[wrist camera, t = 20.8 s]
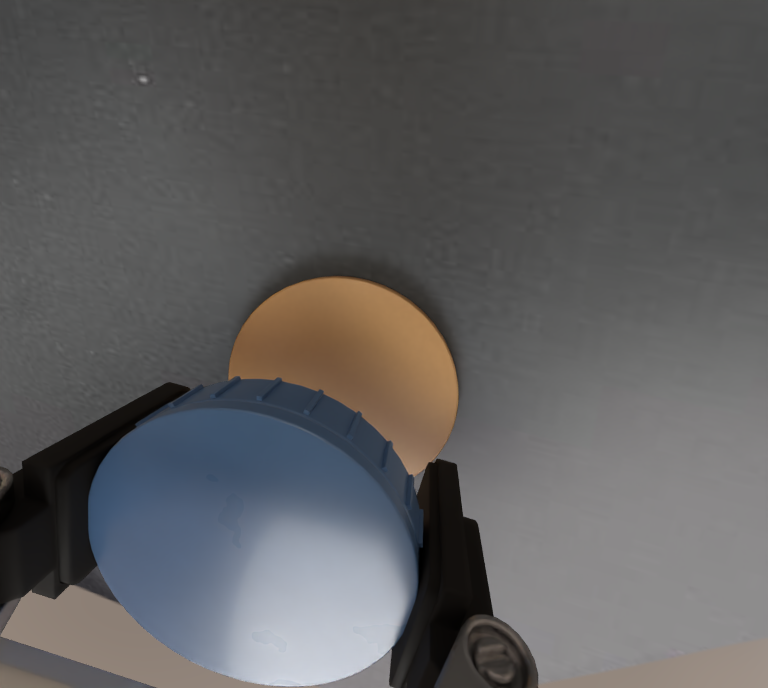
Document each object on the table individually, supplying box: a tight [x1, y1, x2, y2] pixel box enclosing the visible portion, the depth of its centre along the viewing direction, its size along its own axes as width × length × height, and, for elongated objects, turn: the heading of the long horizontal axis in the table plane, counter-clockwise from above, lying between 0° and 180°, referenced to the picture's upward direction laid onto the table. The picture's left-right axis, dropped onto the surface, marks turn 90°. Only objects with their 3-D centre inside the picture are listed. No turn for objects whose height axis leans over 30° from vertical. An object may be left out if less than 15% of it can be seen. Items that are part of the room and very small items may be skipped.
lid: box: [88, 376, 424, 687], centre depth 8 cm, size 7×7×1 cm
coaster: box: [228, 276, 459, 476], centre depth 16 cm, size 10×10×1 cm
